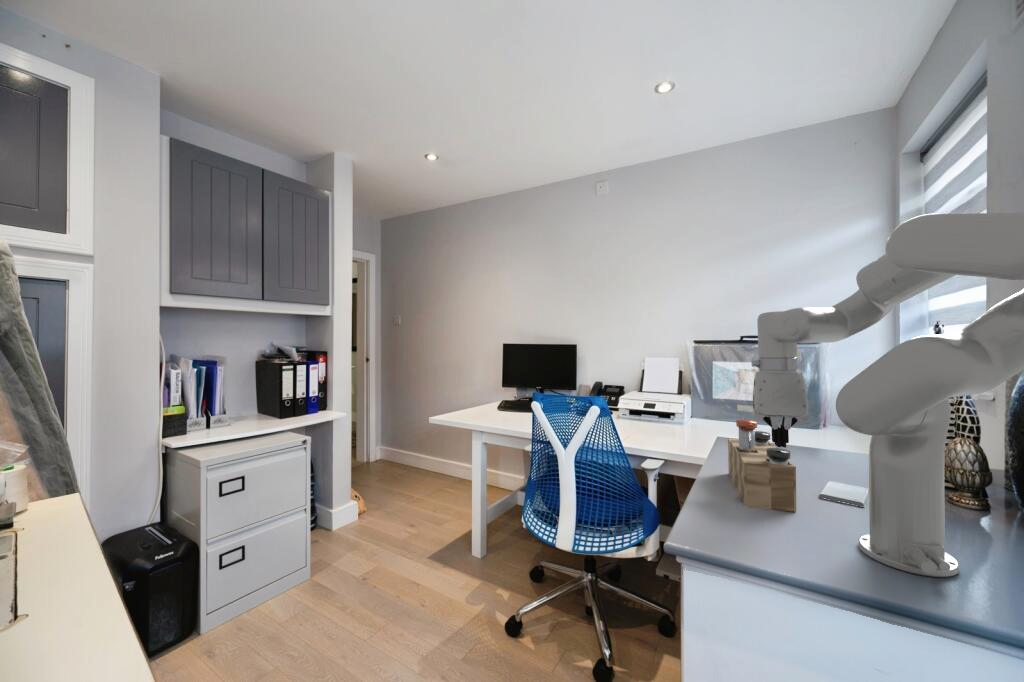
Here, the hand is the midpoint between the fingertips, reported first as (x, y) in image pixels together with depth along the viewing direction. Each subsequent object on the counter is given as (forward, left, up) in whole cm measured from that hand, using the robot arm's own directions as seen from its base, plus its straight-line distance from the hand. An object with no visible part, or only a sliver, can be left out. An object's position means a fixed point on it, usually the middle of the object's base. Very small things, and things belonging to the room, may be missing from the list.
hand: (780, 445), depth 94 cm
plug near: (0, 0, -13) cm, 13 cm away
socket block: (+9, +3, -14) cm, 17 cm away
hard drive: (+12, -16, -15) cm, 25 cm away
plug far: (+18, 0, -13) cm, 23 cm away
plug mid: (+9, +5, -8) cm, 14 cm away
